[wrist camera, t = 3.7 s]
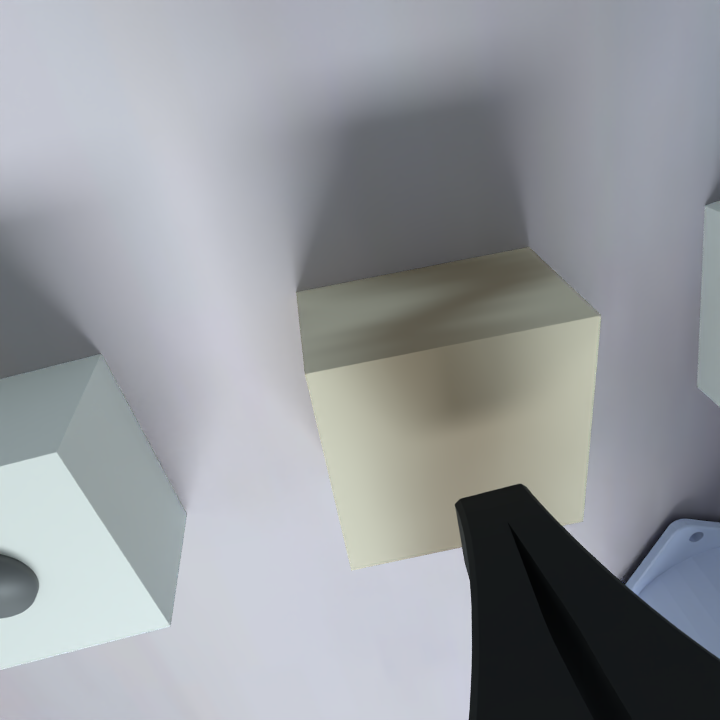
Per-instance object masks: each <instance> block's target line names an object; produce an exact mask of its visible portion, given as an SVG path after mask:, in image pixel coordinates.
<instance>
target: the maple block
mask: <svg viewBox="0 0 720 720" xmlns="http://www.w3.org/2000/svg"><path fill="white" fill-rule="evenodd" d="M296 294H297V304H298V313H299V323H300V333H301V342H302V352H303V361H304V371H305V377H306V381H307V385H308V390H309V394H310V398H311V402H312V406H313V411H314V415H315V419H316V423H317V428H318V432H319V436H320V440H321V444H322V449H323V453H324V457H325V461H326V465H327V470H328V474H329V478H330V482H331V487H332V491H333V495H334V499H335V503H336V508H337V512H338V516H339V520H340V525H341V529H342V533H343V537H344V541H345V546H346V550H347V554H348V558H349V563H350V567H351V571H352V570H356V569H361V568H366V567H370V566H375V565H380V564H385V563H389V562H394V561H399V560H403V559H408V558H413V557H418V556H422V555H427V554H432V553H437V552H441V551H446V550H451V549H455V548H460V547H462V543H461V538H460V532H459V526H458V520H457V514H456V509H455V503H456V502H457V501H458V500H459V499H461V498H465V497H469V496H473V495H476V494H480V493H484V492H488V491H492V490H496V489H500V488H504V487H508V486H512V485H516V484H520V483H521V484H523V485H524V486H526V487H527V488H528V489H529V490H530V492H531V493H532V494H533V495H534V496H535V497H536V499H537V500H538V501H539V502H540V503H541V504H542V505H543V506H544V507H545V508H546V510H547V511H548V512H549V513H550V514H551V515H552V516H553V517H554V518H555V519H556V520H557V521H558V522H559V523H560V524H561V525H562V526H564V525H569V524H574V523H578V522H583V516H584V505H585V494H586V482H587V471H588V459H589V448H590V437H591V425H592V414H593V403H594V391H595V380H596V369H597V357H598V346H599V335H600V323H601V315H600V314H599V313H598V312H597V311H596V310H595V309H594V308H593V307H592V306H591V305H590V304H589V303H587V302H586V301H585V300H584V299H583V298H582V297H581V296H580V295H579V294H578V293H577V292H576V291H575V290H574V289H573V288H572V287H571V286H570V285H568V284H567V283H566V282H565V281H564V280H563V279H562V278H561V277H560V276H559V275H558V274H557V273H556V272H555V271H554V270H553V269H552V268H550V267H549V266H548V265H547V264H546V263H545V262H544V261H543V260H542V259H541V258H540V257H539V256H538V255H537V254H536V253H535V252H534V251H533V250H531V249H530V248H529V247H526V248H521V249H516V250H511V251H505V252H500V253H495V254H490V255H485V256H480V257H474V258H469V259H464V260H459V261H454V262H449V263H443V264H438V265H433V266H428V267H423V268H418V269H412V270H407V271H402V272H397V273H392V274H387V275H381V276H376V277H371V278H366V279H361V280H356V281H350V282H345V283H340V284H335V285H330V286H325V287H319V288H314V289H309V290H304V291H299V292H296Z"/></svg>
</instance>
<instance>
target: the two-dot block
mask: <svg viewBox="0 0 720 720" xmlns="http://www.w3.org/2000/svg"><path fill="white" fill-rule="evenodd" d="M697 388H699V389H700V390H701V391H702V392H703V393H704V394H705V395H706V396H708V397H709V398H710V399H711V400H712V401H713V402H714V403H715V404H716V405H718V406H719V407H720V201H717V202H714V203H711V204H708V205H705V214H704V237H703V260H702V283H701V306H700V329H699V352H698V375H697Z"/></svg>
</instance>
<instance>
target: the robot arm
mask: <svg viewBox="0 0 720 720" xmlns="http://www.w3.org/2000/svg"><path fill="white" fill-rule="evenodd" d="M455 509H456V514H457V520H458V526H459V532H460V538H461V543H462V549H463V555H464V561H465V565H466V569H467V572H468V575H469V579H470V589H471V604H472V673H471V694H470V712H469V720H720V523H719V522H710V521H702V520H694V519H679V520H676V521H674V522H673V523H671V524H670V525H669V526H668V528H667V529H666V530H665V532H664V533H663V534H662V536H661V537H660V538H659V540H658V541H657V542H656V544H655V545H654V546H653V548H652V549H651V550H650V552H649V553H648V555H647V556H646V557H645V559H644V560H643V561H642V563H641V564H640V565H639V567H638V568H637V569H636V571H635V572H634V573H633V575H632V576H631V577H630V579H629V580H628V582H627V583H626V584H623V583H622V582H621V581H620V580H619V579H618V578H617V577H615V576H614V575H613V574H612V573H611V572H610V571H609V570H608V569H607V568H605V567H604V566H603V565H602V564H601V563H600V562H599V561H598V560H597V559H596V558H595V557H594V556H593V555H591V554H590V553H589V552H588V551H587V550H586V549H585V548H584V547H583V546H582V545H581V544H580V543H579V542H578V541H577V540H576V539H575V538H574V537H573V536H572V535H571V534H570V533H569V532H568V531H567V530H566V529H565V528H564V527H563V526H562V525H561V524H560V523H559V522H558V521H557V520H556V519H555V518H554V517H553V516H552V515H551V514H550V513H549V512H548V511H547V510H546V508H545V507H544V506H543V505H542V504H541V503H540V502H539V501H538V500H537V499H536V497H535V496H534V495H533V494H532V493H531V492H530V490H529V489H528V488H527V487H526V486H524V485H523V484H521V483H520V484H516V485H512V486H508V487H504V488H500V489H496V490H492V491H488V492H484V493H480V494H476V495H473V496H469V497H465V498H461V499H459V500H458V501H457V502H456V503H455Z"/></svg>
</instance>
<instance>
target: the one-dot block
mask: <svg viewBox="0 0 720 720" xmlns="http://www.w3.org/2000/svg"><path fill="white" fill-rule="evenodd" d="M186 517H187V514H186V512H185V510H184V508H183V506H182V505H181V503H180V501H179V499H178V497H177V495H176V493H175V491H174V489H173V488H172V486H171V484H170V482H169V480H168V478H167V476H166V474H165V473H164V471H163V469H162V467H161V465H160V463H159V461H158V459H157V458H156V456H155V454H154V452H153V450H152V448H151V446H150V444H149V443H148V441H147V439H146V437H145V435H144V433H143V431H142V429H141V427H140V426H139V424H138V422H137V420H136V418H135V416H134V414H133V412H132V411H131V409H130V407H129V405H128V403H127V401H126V399H125V397H124V396H123V394H122V392H121V390H120V388H119V386H118V384H117V382H116V380H115V379H114V377H113V375H112V373H111V371H110V369H109V367H108V365H107V364H106V362H105V360H104V358H103V356H102V354H98V355H94V356H90V357H86V358H82V359H78V360H74V361H70V362H66V363H62V364H58V365H54V366H50V367H46V368H42V369H38V370H34V371H30V372H26V373H22V374H18V375H14V376H10V377H6V378H2V379H0V670H2V669H6V668H10V667H14V666H18V665H22V664H26V663H29V662H33V661H37V660H41V659H45V658H49V657H53V656H57V655H61V654H65V653H69V652H72V651H76V650H80V649H84V648H88V647H92V646H96V645H100V644H104V643H108V642H111V641H115V640H119V639H123V638H127V637H131V636H135V635H139V634H143V633H147V632H150V631H154V630H158V629H162V628H166V627H170V626H171V620H172V613H173V606H174V599H175V592H176V586H177V579H178V572H179V565H180V558H181V552H182V545H183V538H184V531H185V524H186Z"/></svg>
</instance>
